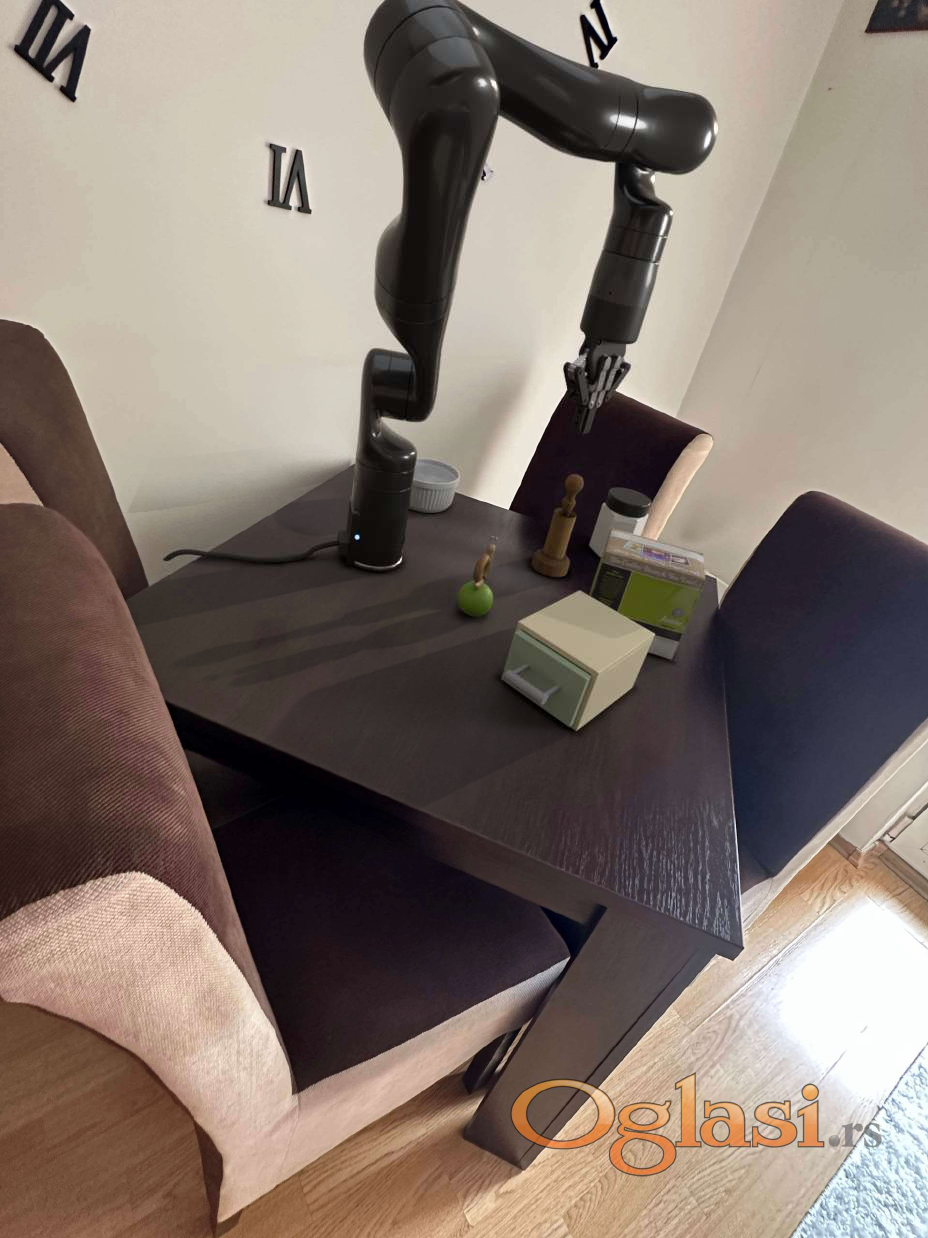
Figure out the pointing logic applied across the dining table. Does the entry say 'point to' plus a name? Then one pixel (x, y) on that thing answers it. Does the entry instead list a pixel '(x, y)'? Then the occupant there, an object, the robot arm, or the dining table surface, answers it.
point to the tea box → (650, 585)
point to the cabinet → (593, 647)
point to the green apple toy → (478, 587)
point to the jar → (620, 516)
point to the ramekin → (433, 485)
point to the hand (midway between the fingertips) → (579, 431)
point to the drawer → (546, 677)
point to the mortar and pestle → (559, 534)
